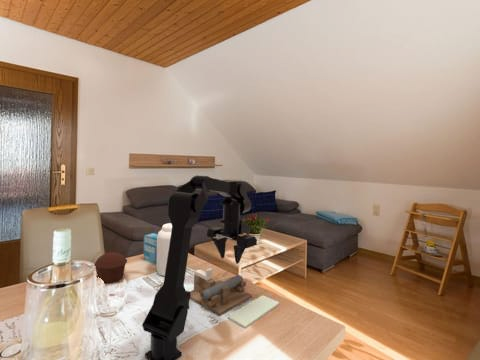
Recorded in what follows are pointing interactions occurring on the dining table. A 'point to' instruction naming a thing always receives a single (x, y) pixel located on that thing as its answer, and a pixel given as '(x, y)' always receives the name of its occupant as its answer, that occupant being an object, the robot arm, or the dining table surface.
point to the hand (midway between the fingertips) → (230, 260)
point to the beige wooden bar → (204, 274)
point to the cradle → (221, 301)
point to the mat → (253, 311)
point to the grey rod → (217, 288)
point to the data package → (150, 248)
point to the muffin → (110, 267)
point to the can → (163, 248)
